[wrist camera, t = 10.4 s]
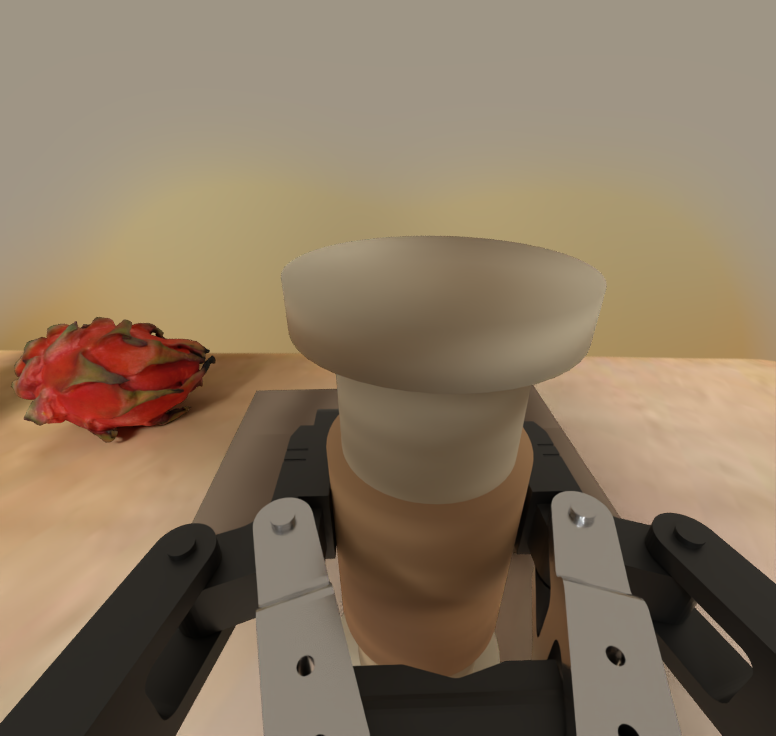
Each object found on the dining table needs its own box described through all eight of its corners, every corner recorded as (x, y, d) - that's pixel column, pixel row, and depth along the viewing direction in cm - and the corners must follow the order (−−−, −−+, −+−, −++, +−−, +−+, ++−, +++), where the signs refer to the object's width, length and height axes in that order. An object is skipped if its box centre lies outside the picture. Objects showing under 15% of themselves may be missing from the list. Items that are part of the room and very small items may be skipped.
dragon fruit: (37, 452, 28) (220, 430, 33) (-32, 457, 20) (220, 427, 25) (36, 335, 29) (213, 331, 34) (-30, 298, 21) (211, 299, 26)
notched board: (197, 561, 19) (186, 533, 18) (261, 413, 29) (256, 390, 28) (611, 549, 19) (623, 521, 18) (528, 407, 30) (532, 385, 29)
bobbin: (328, 767, 12) (237, 328, 5) (343, 583, 16) (307, 237, 10) (517, 760, 12) (694, 321, 5) (476, 579, 17) (534, 234, 10)
